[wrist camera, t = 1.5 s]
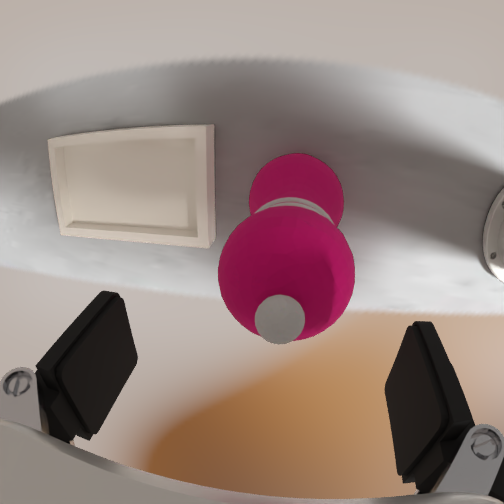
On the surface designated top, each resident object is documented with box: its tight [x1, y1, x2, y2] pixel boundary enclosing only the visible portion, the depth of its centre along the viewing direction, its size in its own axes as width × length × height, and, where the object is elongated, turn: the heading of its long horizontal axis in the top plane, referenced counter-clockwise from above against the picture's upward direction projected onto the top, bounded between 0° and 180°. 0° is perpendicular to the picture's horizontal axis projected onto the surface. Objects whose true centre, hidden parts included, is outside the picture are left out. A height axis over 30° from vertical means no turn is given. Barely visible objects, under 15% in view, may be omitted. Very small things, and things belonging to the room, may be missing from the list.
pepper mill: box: [218, 153, 355, 344], centre depth 19 cm, size 7×7×20 cm
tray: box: [48, 124, 216, 248], centre depth 29 cm, size 18×11×2 cm, turn 89°
